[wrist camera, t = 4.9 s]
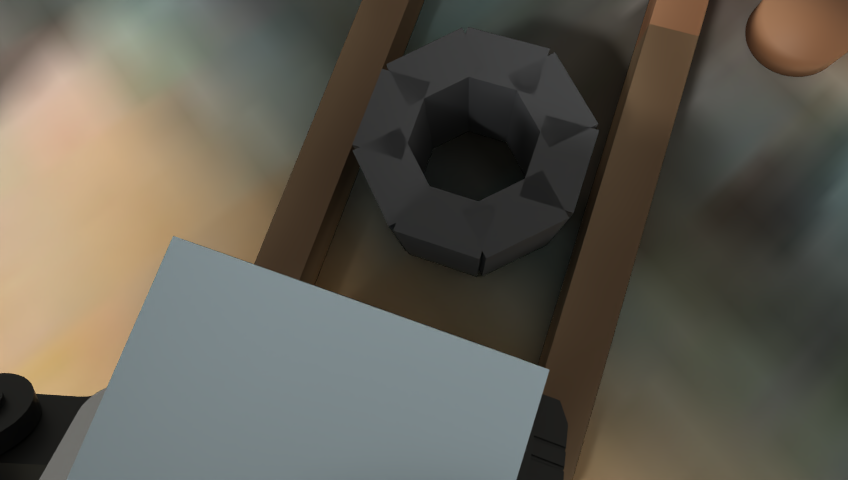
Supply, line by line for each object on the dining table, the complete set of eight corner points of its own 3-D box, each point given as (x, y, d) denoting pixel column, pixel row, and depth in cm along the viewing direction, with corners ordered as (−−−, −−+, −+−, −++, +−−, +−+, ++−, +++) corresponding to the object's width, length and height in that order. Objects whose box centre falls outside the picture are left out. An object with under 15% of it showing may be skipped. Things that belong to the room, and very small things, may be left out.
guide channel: (98, 339, 17) (20, 339, 14) (358, -241, 21) (340, -337, 18) (715, 585, 14) (781, 651, 11) (884, -141, 18) (967, -236, 15)
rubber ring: (356, 236, 17) (326, 208, 13) (417, 76, 18) (404, 10, 14) (533, 295, 16) (551, 282, 12) (587, 124, 17) (618, 66, 13)
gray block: (292, 452, 16) (-5, 643, 6) (349, 297, 16) (173, 236, 7) (446, 515, 15) (404, 852, 5) (498, 350, 16) (549, 369, 6)
